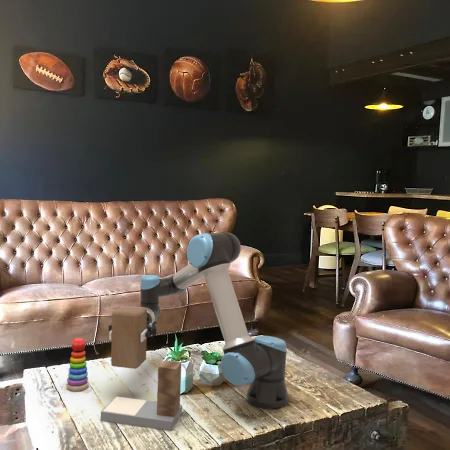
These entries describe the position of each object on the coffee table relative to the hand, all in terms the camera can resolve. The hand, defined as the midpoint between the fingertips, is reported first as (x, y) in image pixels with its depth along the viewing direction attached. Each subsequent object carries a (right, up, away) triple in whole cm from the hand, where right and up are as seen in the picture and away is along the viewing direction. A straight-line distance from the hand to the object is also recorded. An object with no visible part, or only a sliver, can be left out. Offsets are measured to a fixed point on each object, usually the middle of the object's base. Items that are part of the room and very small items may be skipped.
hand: (125, 337), depth 175 cm
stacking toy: (-20, -22, +12) cm, 32 cm away
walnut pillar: (+16, -22, -11) cm, 29 cm away
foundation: (+7, -25, -9) cm, 27 cm away
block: (0, -11, +5) cm, 12 cm away
